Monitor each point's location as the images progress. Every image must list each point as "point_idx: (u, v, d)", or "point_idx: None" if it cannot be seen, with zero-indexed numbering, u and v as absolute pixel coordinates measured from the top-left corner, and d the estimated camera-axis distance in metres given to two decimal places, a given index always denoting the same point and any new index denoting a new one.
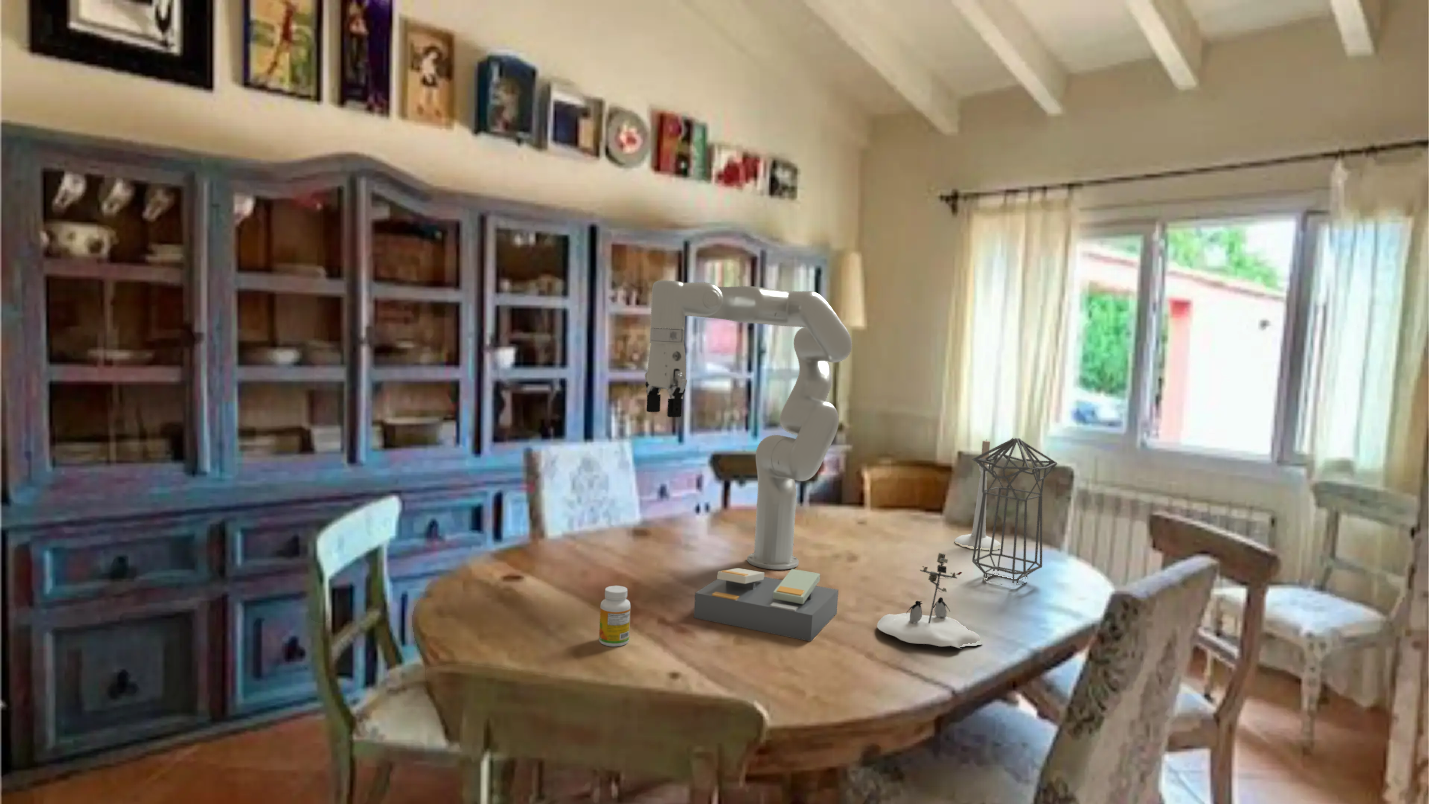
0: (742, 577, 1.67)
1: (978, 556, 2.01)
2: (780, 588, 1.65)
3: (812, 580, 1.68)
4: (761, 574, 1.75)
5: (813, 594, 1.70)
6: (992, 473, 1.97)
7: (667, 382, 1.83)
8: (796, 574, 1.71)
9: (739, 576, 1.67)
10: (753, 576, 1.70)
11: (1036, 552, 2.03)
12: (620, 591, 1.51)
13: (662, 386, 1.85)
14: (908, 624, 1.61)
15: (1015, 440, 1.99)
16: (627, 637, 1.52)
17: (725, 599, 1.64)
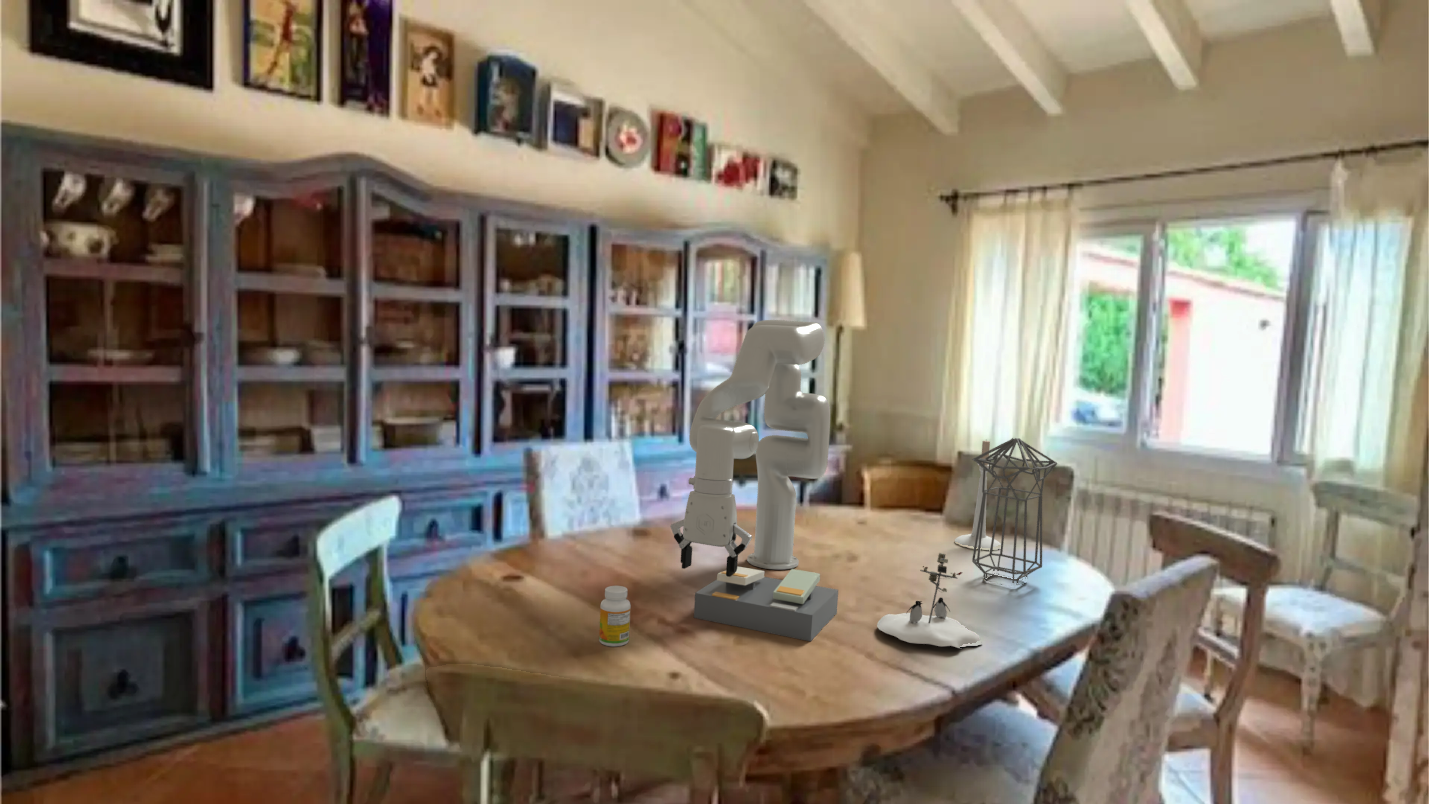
0: (742, 579, 1.67)
1: (978, 556, 2.01)
2: (780, 588, 1.65)
3: (812, 580, 1.68)
4: (761, 573, 1.75)
5: (813, 594, 1.70)
6: (992, 473, 1.97)
7: None
8: (796, 574, 1.71)
9: (739, 578, 1.67)
10: (753, 576, 1.70)
11: (1036, 552, 2.03)
12: (620, 591, 1.51)
13: None
14: (908, 624, 1.61)
15: (1015, 440, 1.99)
16: (627, 637, 1.52)
17: (725, 599, 1.64)
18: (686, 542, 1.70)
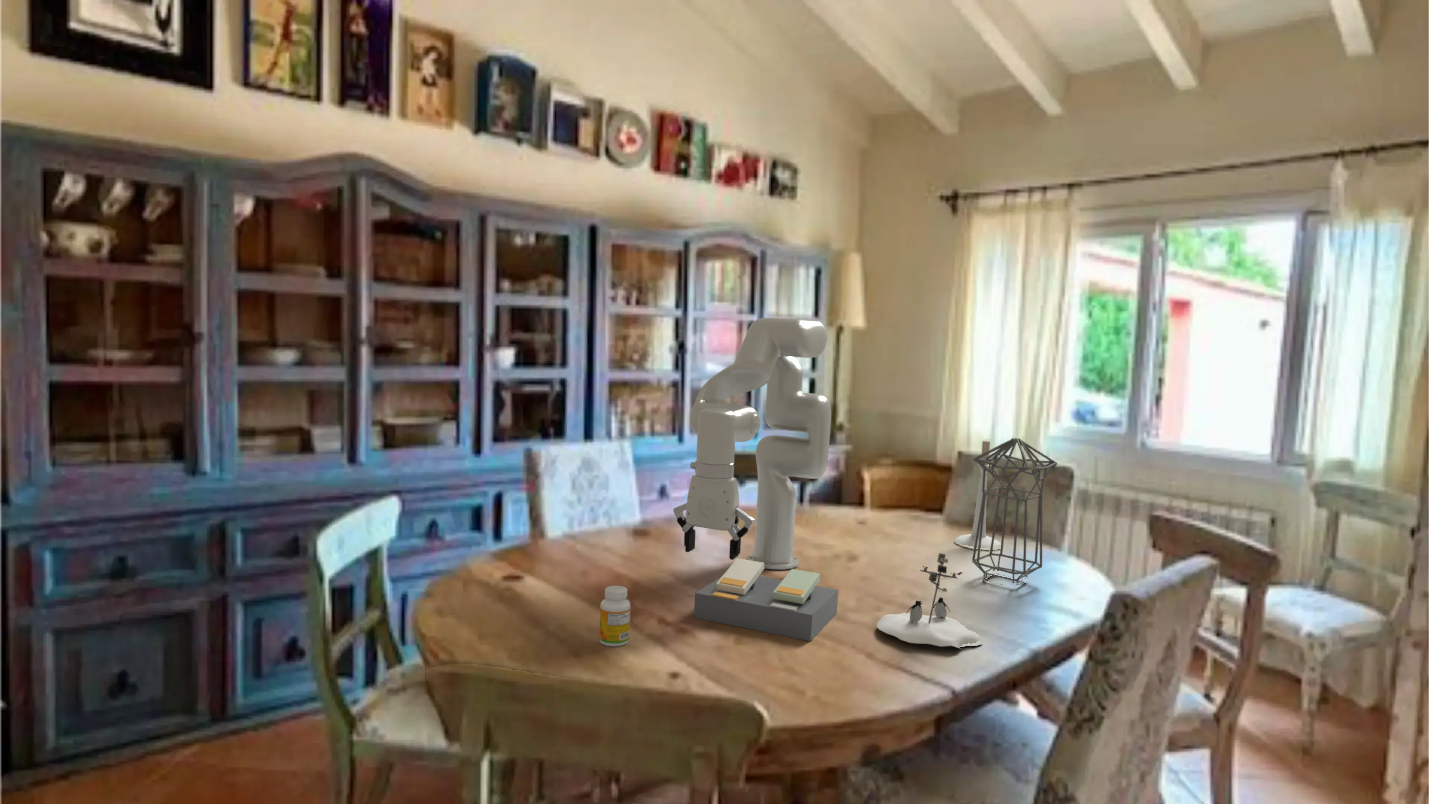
0: (741, 589, 1.67)
1: (978, 556, 2.01)
2: (780, 588, 1.65)
3: (812, 580, 1.68)
4: (761, 567, 1.74)
5: (813, 594, 1.70)
6: (992, 473, 1.97)
7: None
8: (796, 574, 1.71)
9: (738, 588, 1.67)
10: (752, 579, 1.70)
11: (1036, 552, 2.03)
12: (620, 591, 1.51)
13: None
14: (908, 624, 1.61)
15: (1015, 440, 1.99)
16: (627, 637, 1.52)
17: (725, 599, 1.64)
18: (689, 526, 1.71)
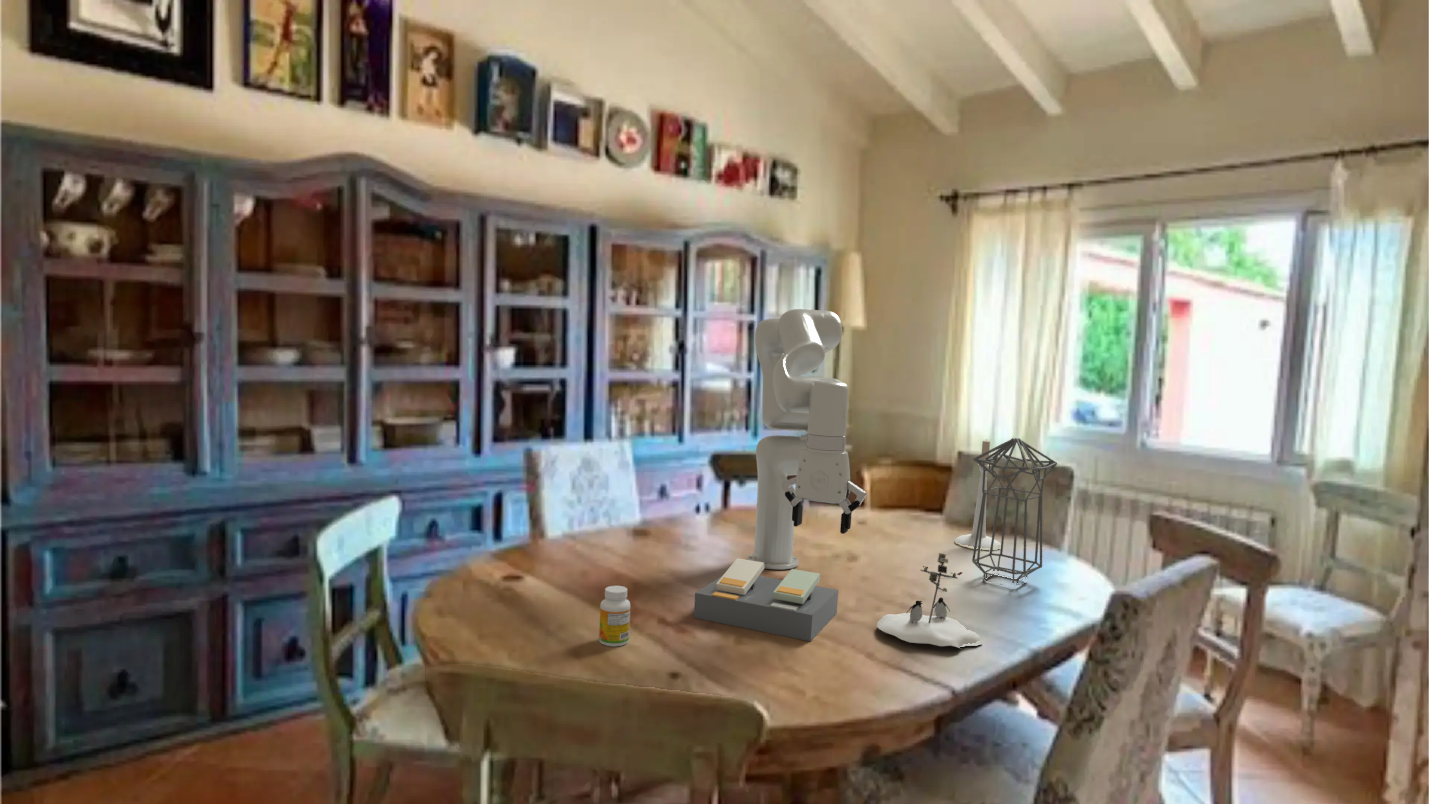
0: (741, 589, 1.67)
1: (978, 556, 2.01)
2: (780, 588, 1.65)
3: (812, 580, 1.68)
4: (761, 567, 1.74)
5: (813, 594, 1.70)
6: (992, 473, 1.97)
7: None
8: (796, 574, 1.71)
9: (738, 588, 1.67)
10: (752, 579, 1.70)
11: (1036, 552, 2.03)
12: (620, 591, 1.51)
13: None
14: (909, 624, 1.61)
15: (1015, 440, 1.99)
16: (627, 637, 1.52)
17: (725, 599, 1.64)
18: (798, 500, 1.69)
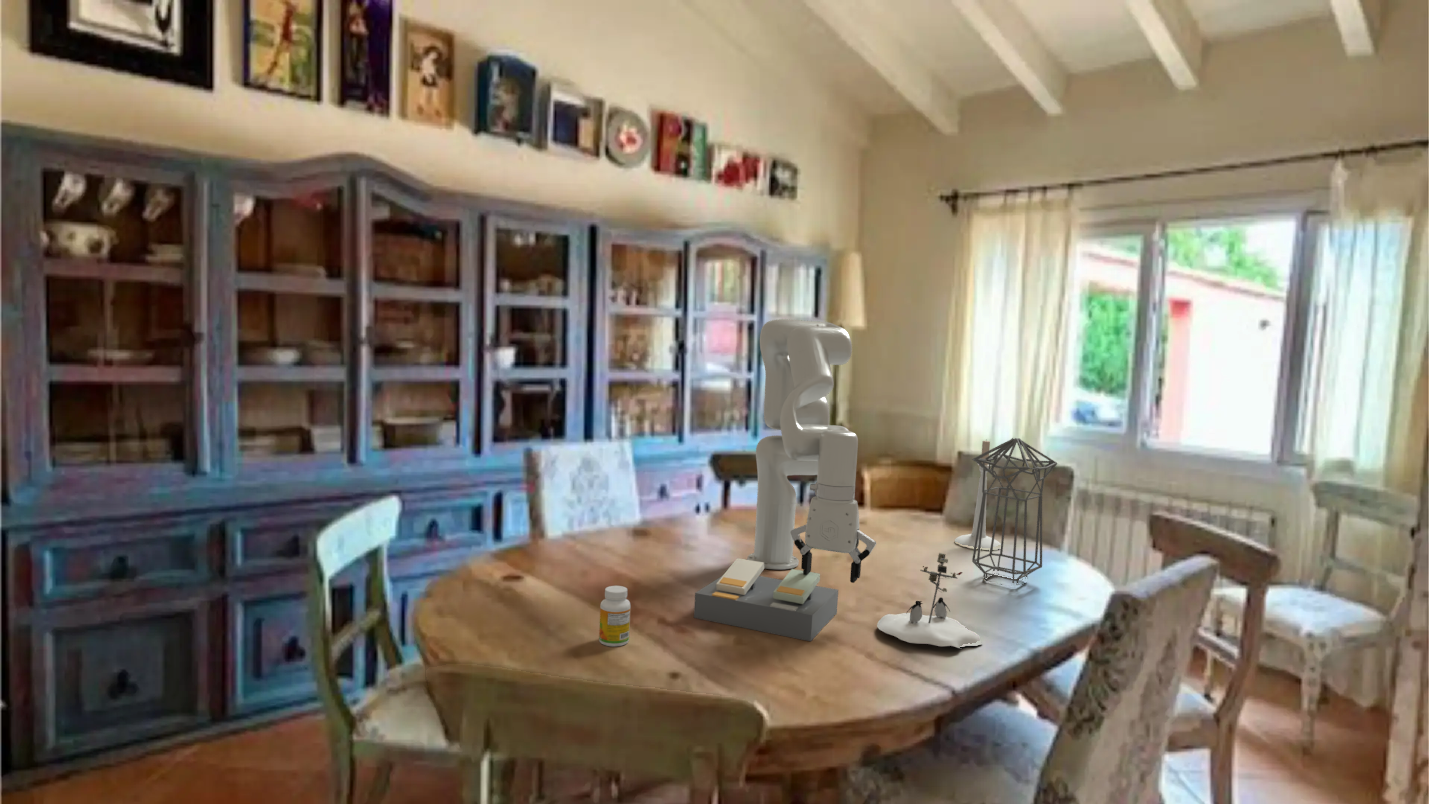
0: (741, 589, 1.67)
1: (978, 556, 2.01)
2: (780, 588, 1.65)
3: (812, 580, 1.68)
4: (761, 567, 1.74)
5: (813, 594, 1.70)
6: (992, 473, 1.97)
7: None
8: (796, 574, 1.71)
9: (738, 588, 1.67)
10: (752, 579, 1.70)
11: (1036, 552, 2.03)
12: (620, 591, 1.51)
13: None
14: (909, 624, 1.61)
15: (1015, 440, 1.99)
16: (627, 637, 1.52)
17: (725, 599, 1.64)
18: (808, 548, 1.70)
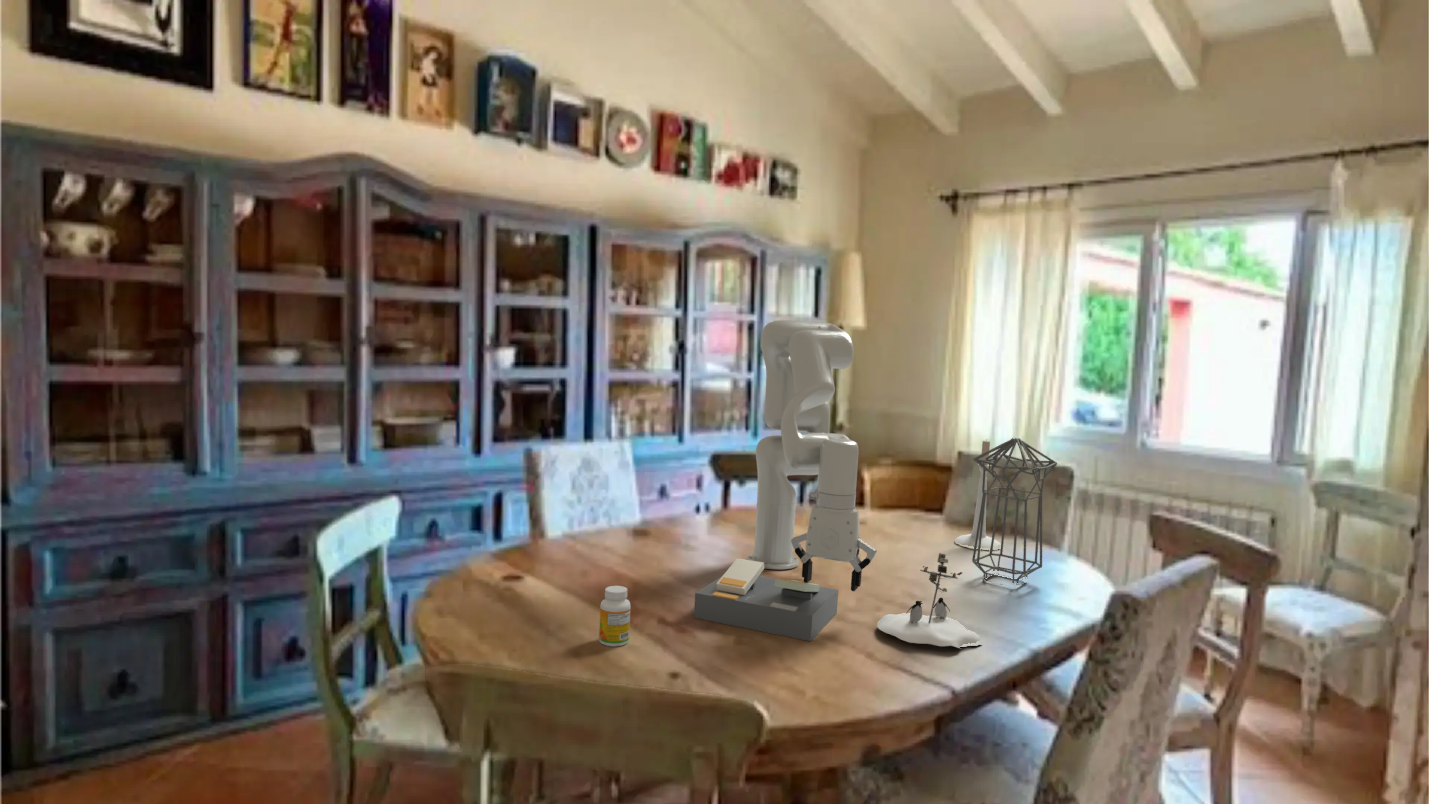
0: (741, 589, 1.67)
1: (978, 556, 2.01)
2: None
3: (813, 584, 1.69)
4: (761, 567, 1.74)
5: (813, 594, 1.70)
6: (992, 473, 1.97)
7: None
8: None
9: (738, 588, 1.67)
10: (752, 579, 1.70)
11: (1036, 552, 2.03)
12: (620, 591, 1.51)
13: None
14: (909, 624, 1.61)
15: (1015, 440, 1.99)
16: (627, 637, 1.52)
17: (725, 599, 1.64)
18: (808, 557, 1.70)
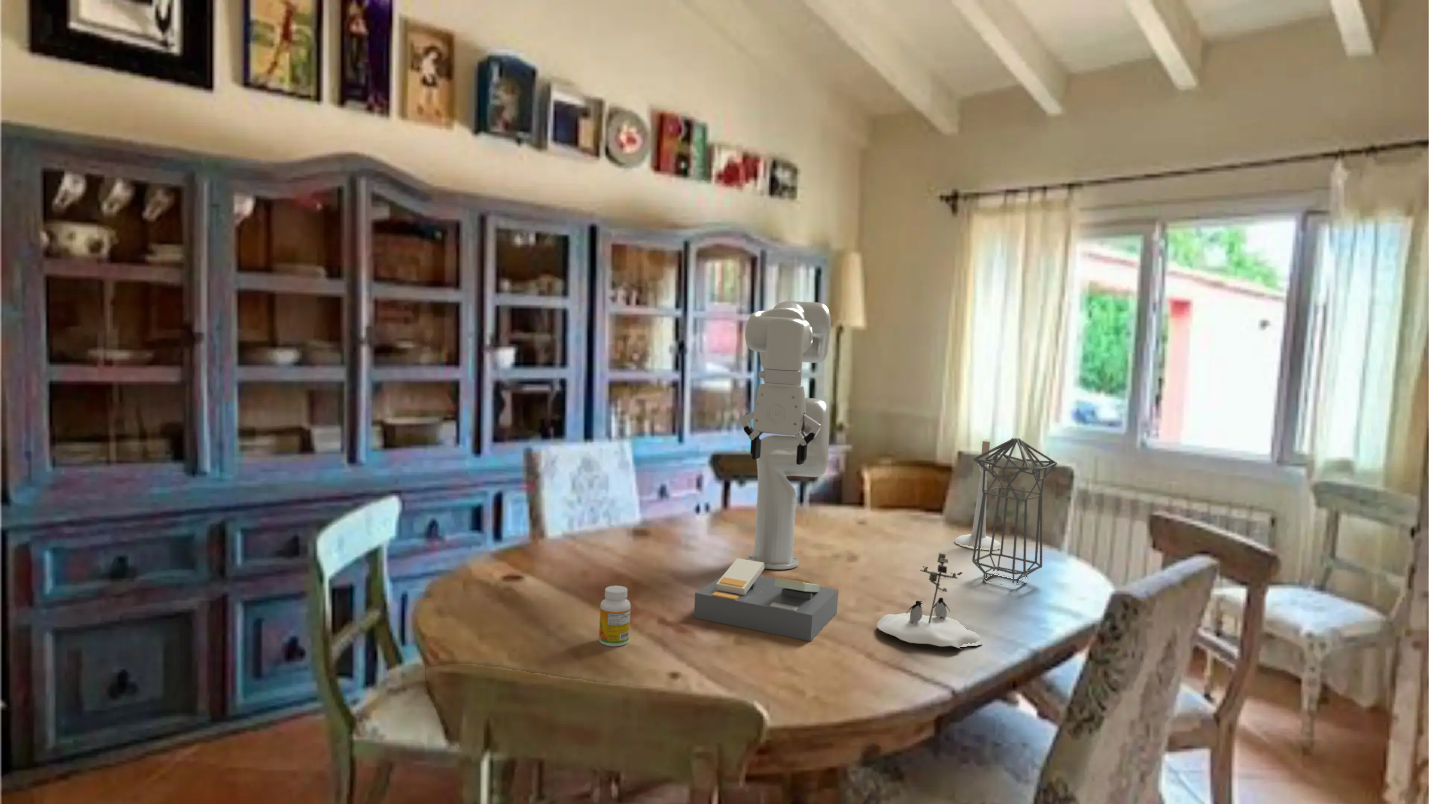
0: (741, 589, 1.67)
1: (978, 556, 2.01)
2: (782, 578, 1.65)
3: (813, 584, 1.69)
4: (761, 567, 1.74)
5: (813, 594, 1.70)
6: (992, 473, 1.97)
7: None
8: None
9: (738, 588, 1.67)
10: (752, 579, 1.70)
11: (1036, 552, 2.03)
12: (620, 591, 1.51)
13: None
14: (909, 624, 1.61)
15: (1015, 440, 1.99)
16: (627, 637, 1.52)
17: (725, 599, 1.64)
18: (756, 433, 1.75)
